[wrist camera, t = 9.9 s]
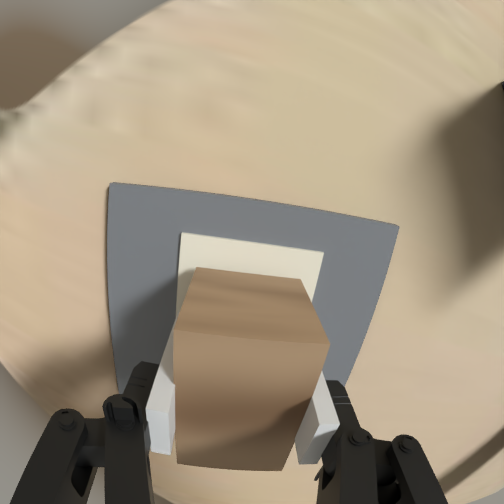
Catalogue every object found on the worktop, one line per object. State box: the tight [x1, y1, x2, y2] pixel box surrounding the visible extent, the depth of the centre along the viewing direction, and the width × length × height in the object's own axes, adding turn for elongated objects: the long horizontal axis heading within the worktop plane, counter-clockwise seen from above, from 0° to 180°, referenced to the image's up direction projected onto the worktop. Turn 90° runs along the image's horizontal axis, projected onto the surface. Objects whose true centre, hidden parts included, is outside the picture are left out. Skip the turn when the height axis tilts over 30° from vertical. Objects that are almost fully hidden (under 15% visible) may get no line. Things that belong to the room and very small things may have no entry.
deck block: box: [173, 267, 330, 471], centre depth 13 cm, size 8×5×6 cm, turn 172°
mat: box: [107, 182, 399, 394], centre depth 16 cm, size 15×14×1 cm
